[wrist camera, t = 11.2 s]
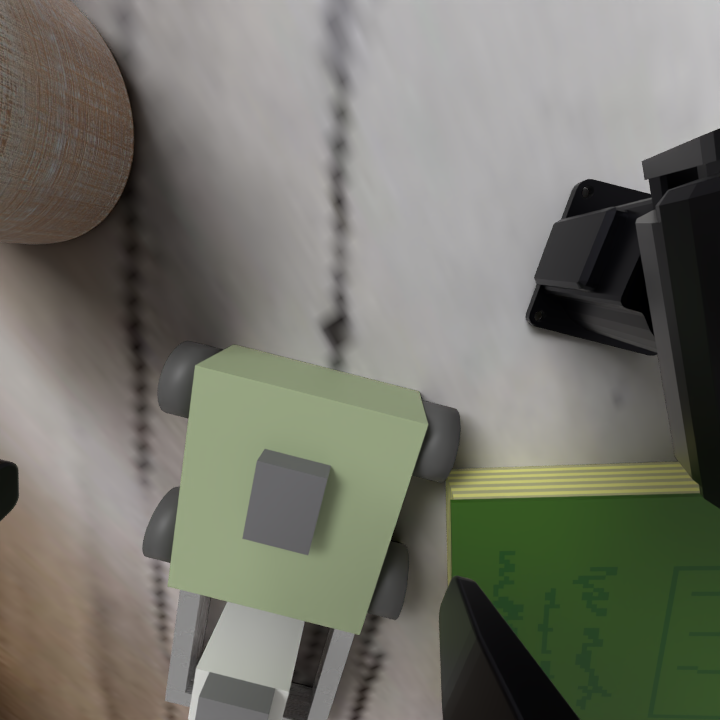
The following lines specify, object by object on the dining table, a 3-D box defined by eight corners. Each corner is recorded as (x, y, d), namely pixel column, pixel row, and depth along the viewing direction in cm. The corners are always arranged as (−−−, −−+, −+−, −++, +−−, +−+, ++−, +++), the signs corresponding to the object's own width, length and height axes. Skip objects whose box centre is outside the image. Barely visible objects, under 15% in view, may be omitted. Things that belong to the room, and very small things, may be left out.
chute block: (313, 582, 23) (283, 717, 16) (293, 661, 24) (258, 813, 18) (244, 565, 23) (184, 692, 16) (229, 645, 24) (170, 790, 18)
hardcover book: (445, 699, 25) (455, 772, 22) (439, 460, 20) (451, 502, 17) (840, 707, 23) (925, 789, 19) (937, 443, 18) (1073, 487, 15)
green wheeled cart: (451, 397, 19) (474, 444, 14) (389, 581, 22) (390, 670, 17) (202, 334, 19) (139, 359, 14) (178, 528, 22) (120, 602, 17)
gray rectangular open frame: (366, 573, 22) (364, 602, 20) (325, 703, 25) (320, 740, 23) (202, 531, 22) (184, 557, 20) (181, 667, 25) (165, 700, 23)
